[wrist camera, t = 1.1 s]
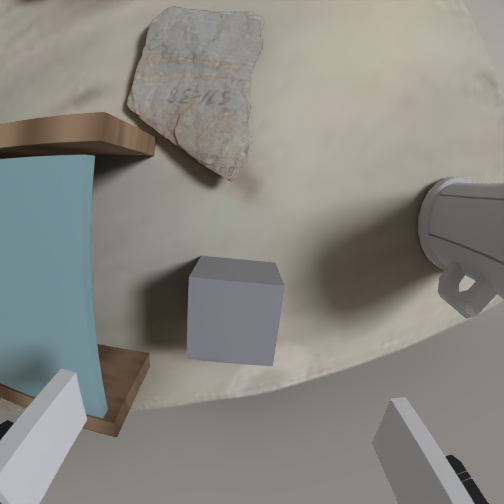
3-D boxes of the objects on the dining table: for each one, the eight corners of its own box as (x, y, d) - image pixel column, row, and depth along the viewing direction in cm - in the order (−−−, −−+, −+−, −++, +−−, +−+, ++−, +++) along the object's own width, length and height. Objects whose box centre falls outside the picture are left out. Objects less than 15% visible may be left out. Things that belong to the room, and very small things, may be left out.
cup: (470, 286, 27) (549, 330, 15) (402, 283, 26) (483, 340, 15) (486, 186, 24) (575, 196, 13) (418, 167, 24) (515, 165, 12)
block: (197, 322, 27) (186, 358, 21) (201, 255, 25) (189, 276, 19) (266, 329, 27) (272, 366, 21) (275, 262, 26) (284, 285, 20)
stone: (243, 182, 25) (243, 182, 22) (119, 165, 24) (107, 164, 21) (274, 22, 22) (277, 8, 19) (157, 11, 21) (150, -2, 18)
